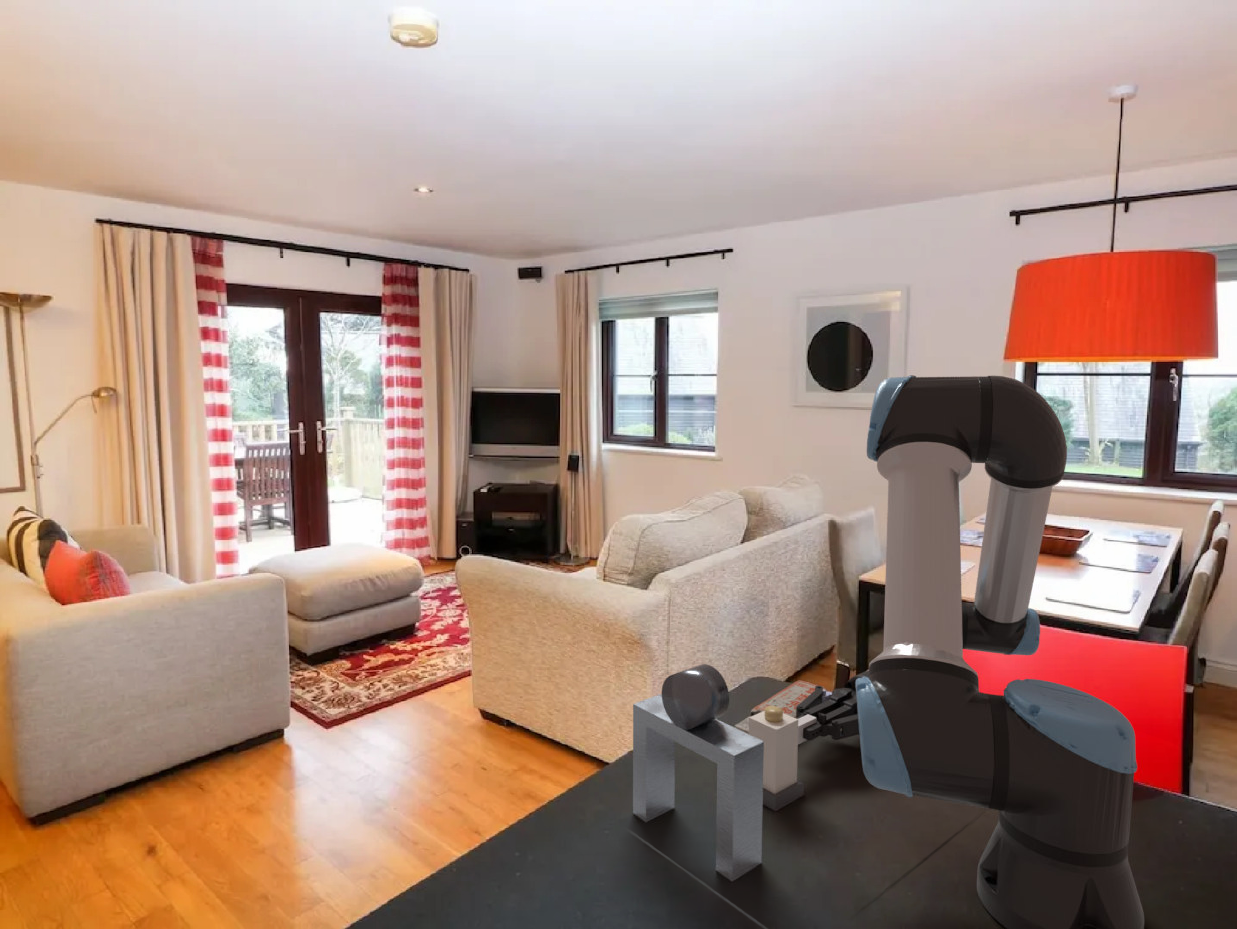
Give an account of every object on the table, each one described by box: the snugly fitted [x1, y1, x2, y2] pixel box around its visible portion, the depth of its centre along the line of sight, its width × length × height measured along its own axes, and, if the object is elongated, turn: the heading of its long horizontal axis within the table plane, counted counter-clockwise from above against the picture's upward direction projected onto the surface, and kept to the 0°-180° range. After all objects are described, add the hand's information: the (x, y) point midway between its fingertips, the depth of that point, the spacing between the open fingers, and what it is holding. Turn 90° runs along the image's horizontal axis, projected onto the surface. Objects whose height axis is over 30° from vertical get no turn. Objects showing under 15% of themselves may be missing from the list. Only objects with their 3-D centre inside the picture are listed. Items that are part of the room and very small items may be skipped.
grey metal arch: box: [632, 663, 764, 882], centre depth 89 cm, size 17×5×21 cm, turn 39°
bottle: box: [748, 706, 805, 812], centre depth 99 cm, size 6×6×12 cm
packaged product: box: [734, 680, 830, 734], centre depth 121 cm, size 18×5×10 cm
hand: (783, 738), depth 102 cm, fingers closed
